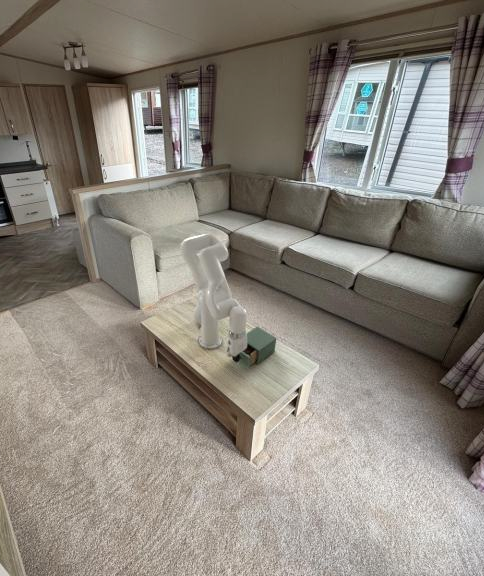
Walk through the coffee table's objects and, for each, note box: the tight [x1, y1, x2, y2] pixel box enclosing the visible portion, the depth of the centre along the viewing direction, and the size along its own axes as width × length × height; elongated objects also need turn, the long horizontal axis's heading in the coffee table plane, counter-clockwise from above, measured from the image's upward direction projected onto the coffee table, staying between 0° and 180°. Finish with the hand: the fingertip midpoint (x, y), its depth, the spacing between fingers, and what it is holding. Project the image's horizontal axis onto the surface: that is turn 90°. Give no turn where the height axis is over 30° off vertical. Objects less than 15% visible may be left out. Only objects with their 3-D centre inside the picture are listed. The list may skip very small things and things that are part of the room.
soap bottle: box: [192, 290, 206, 326], centre depth 173 cm, size 17×12×29 cm
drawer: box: [230, 344, 258, 369], centre depth 151 cm, size 14×11×7 cm
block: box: [243, 346, 253, 356], centre depth 152 cm, size 4×4×4 cm
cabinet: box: [246, 326, 277, 365], centre depth 156 cm, size 14×13×9 cm
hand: (235, 360), depth 147 cm, fingers closed
